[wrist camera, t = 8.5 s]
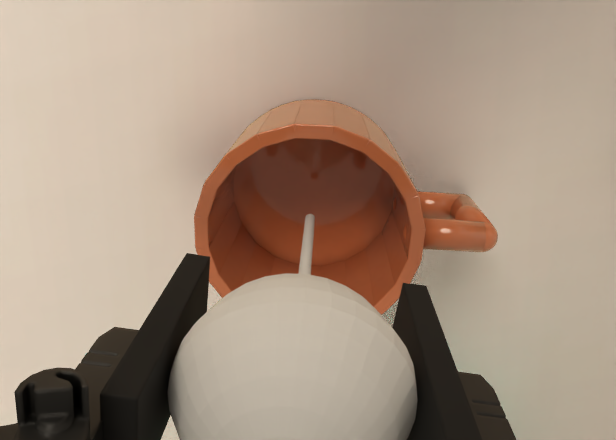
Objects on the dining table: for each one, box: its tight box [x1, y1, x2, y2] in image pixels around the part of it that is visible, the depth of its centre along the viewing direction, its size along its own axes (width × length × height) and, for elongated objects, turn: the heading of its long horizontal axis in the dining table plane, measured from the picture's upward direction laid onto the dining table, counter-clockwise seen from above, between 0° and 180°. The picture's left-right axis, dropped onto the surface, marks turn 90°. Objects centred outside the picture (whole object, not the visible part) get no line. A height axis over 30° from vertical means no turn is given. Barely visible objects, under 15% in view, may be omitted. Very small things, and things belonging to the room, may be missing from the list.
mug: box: [194, 99, 498, 315], centre depth 25 cm, size 13×10×7 cm
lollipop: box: [167, 214, 418, 440], centre depth 17 cm, size 6×6×15 cm
